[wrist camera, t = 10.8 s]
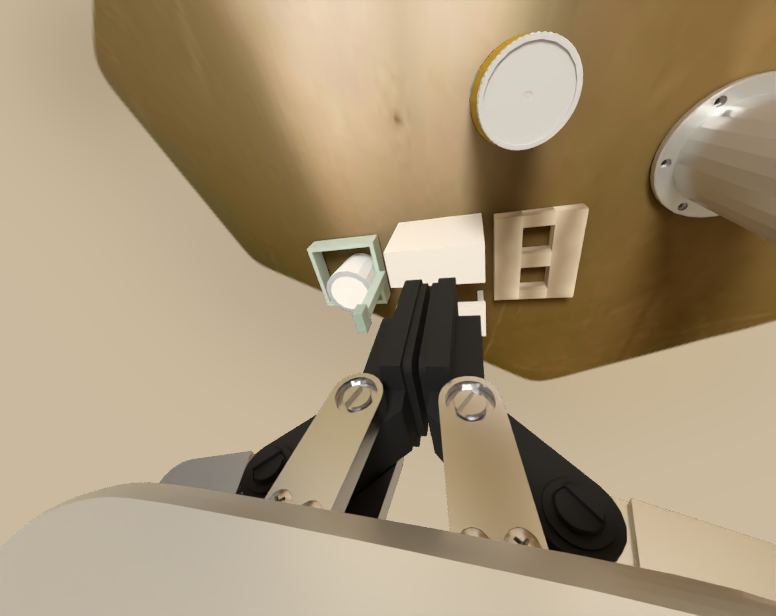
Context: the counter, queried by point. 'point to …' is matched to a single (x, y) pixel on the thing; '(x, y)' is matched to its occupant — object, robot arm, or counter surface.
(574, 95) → the bottle
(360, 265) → the white cup
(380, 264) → the slider
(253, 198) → the counter surface
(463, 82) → the counter surface
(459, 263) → the tunnel
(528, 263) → the board
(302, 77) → the counter surface
